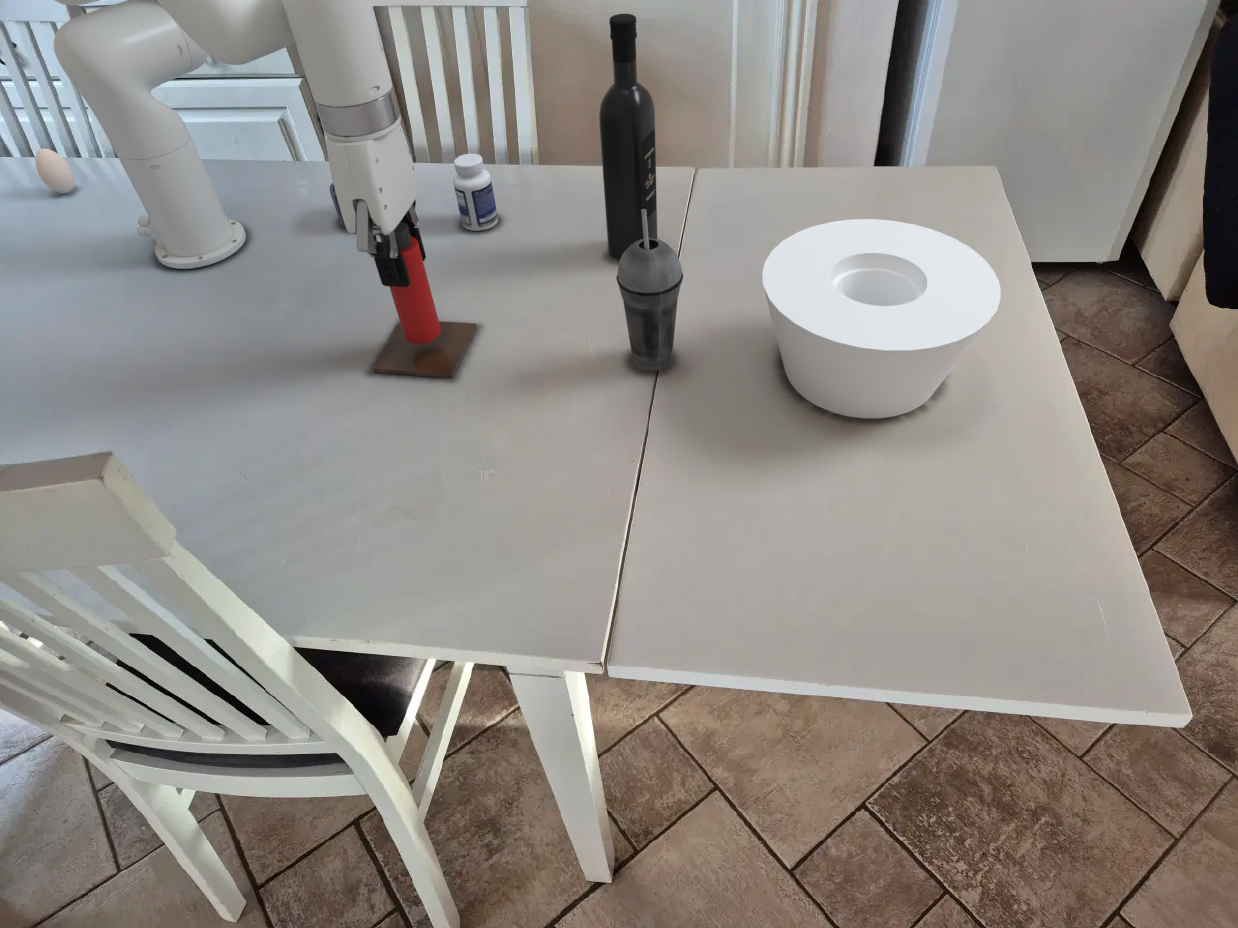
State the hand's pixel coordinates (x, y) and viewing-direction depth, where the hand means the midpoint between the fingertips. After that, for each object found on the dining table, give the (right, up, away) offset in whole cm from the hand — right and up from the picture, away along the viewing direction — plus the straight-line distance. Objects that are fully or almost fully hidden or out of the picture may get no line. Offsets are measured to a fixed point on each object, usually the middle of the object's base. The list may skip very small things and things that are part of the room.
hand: (404, 270), depth 92 cm
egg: (-67, +23, +43) cm, 83 cm away
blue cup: (-14, +16, +31) cm, 38 cm away
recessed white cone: (+52, -11, +1) cm, 53 cm away
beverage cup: (+28, -10, +5) cm, 30 cm away
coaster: (+1, -8, +8) cm, 11 cm away
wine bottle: (+26, +7, +21) cm, 34 cm away
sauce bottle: (+1, -6, +6) cm, 9 cm away
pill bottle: (+4, +14, +29) cm, 32 cm away
